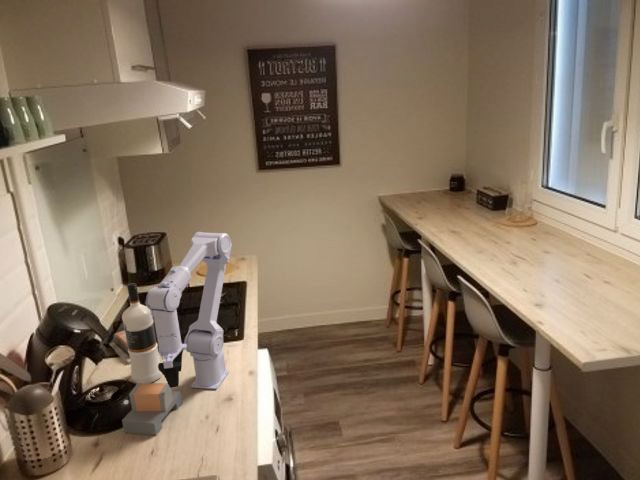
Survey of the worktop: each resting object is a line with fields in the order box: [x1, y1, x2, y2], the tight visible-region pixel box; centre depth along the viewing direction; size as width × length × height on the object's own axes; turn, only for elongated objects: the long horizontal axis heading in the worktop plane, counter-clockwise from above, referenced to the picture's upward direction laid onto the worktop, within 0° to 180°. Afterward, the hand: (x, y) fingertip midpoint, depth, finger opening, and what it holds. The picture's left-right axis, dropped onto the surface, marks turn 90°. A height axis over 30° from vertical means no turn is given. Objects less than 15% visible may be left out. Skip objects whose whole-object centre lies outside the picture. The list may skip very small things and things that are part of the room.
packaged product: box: [109, 329, 131, 365], centre depth 174 cm, size 18×5×10 cm
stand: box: [121, 390, 184, 436], centre depth 137 cm, size 14×9×4 cm, turn 167°
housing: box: [128, 382, 173, 411], centre depth 136 cm, size 9×5×5 cm, turn 84°
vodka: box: [121, 282, 164, 384], centre depth 153 cm, size 9×9×30 cm
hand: (175, 378), depth 137 cm, fingers open, 7 cm apart
